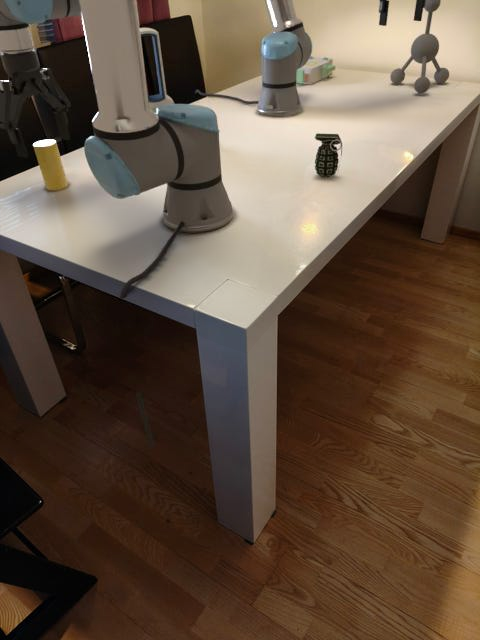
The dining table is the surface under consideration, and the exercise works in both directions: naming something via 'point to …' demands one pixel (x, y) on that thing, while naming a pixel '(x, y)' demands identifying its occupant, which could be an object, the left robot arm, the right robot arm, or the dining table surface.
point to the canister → (50, 164)
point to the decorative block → (314, 70)
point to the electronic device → (162, 97)
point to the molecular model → (424, 55)
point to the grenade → (327, 155)
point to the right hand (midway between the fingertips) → (400, 23)
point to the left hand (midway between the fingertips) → (45, 147)
